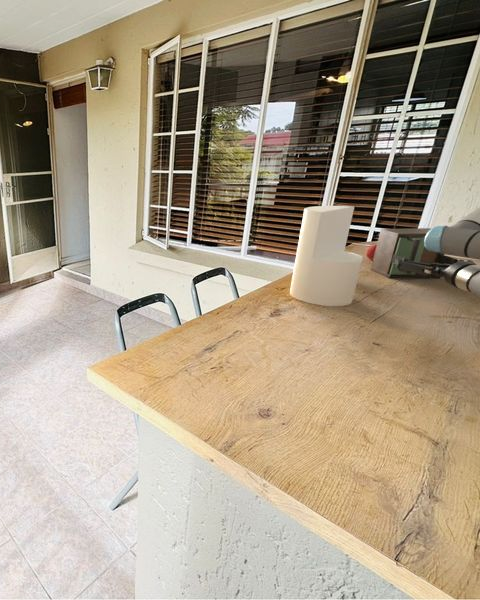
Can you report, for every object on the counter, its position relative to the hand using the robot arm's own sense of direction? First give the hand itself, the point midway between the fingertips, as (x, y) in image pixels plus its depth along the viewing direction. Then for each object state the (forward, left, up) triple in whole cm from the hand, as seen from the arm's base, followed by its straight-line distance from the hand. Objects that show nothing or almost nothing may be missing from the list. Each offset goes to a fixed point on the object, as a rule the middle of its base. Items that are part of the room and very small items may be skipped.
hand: (415, 258), depth 119 cm
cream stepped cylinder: (+16, +34, -9) cm, 38 cm away
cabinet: (+4, -12, -9) cm, 16 cm away
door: (+1, -4, -7) cm, 9 cm away
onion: (+16, -25, -9) cm, 31 cm away
